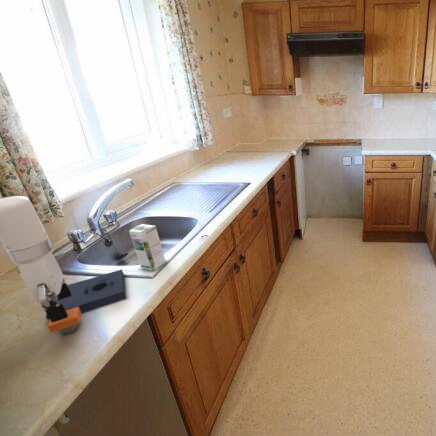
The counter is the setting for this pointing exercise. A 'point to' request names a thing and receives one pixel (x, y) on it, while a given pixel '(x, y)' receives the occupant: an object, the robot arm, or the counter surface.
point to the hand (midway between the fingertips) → (62, 307)
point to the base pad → (95, 292)
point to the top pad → (66, 322)
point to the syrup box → (147, 246)
